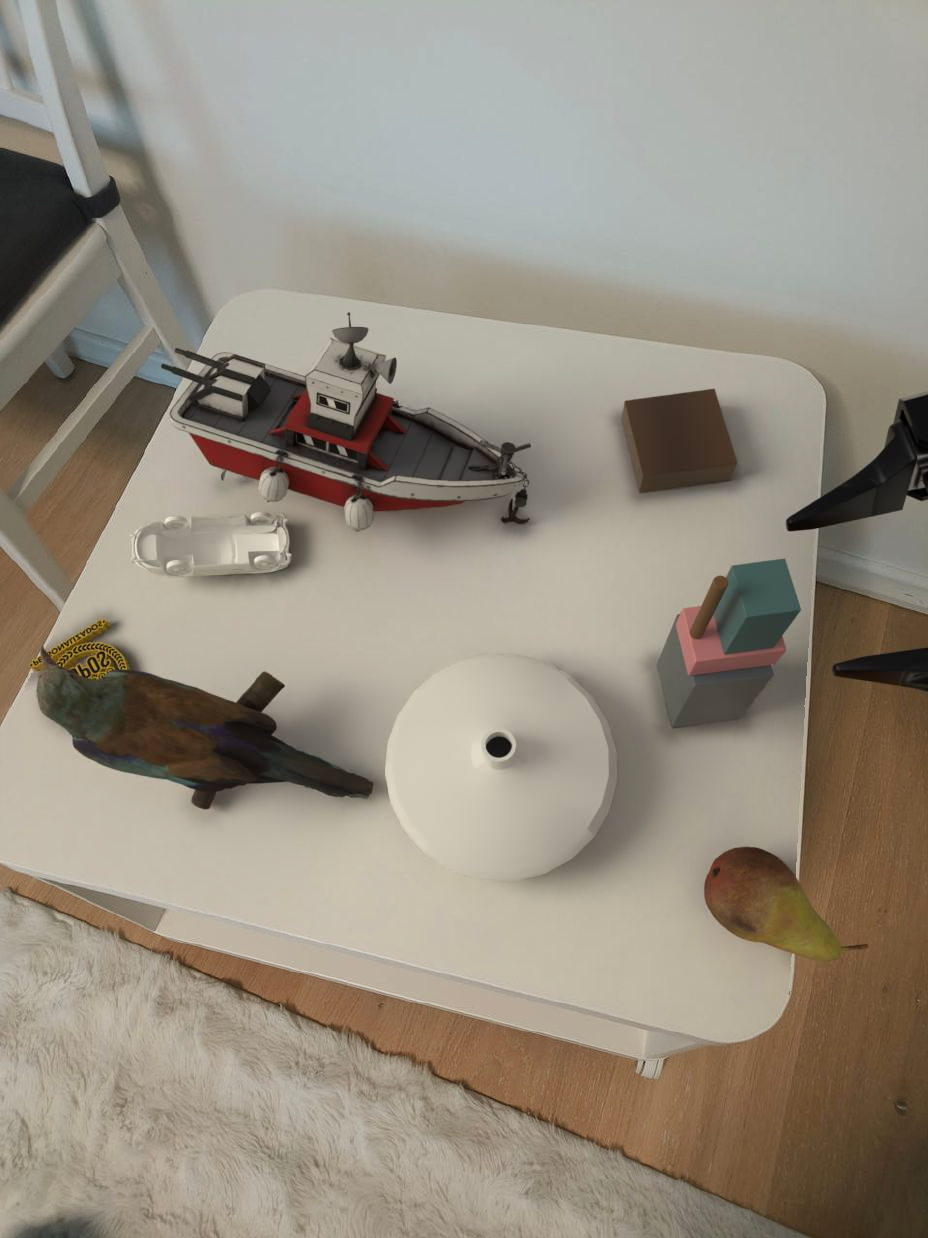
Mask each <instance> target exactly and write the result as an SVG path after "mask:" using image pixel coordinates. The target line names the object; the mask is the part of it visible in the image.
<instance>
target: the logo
mask: <svg viewBox="0 0 928 1238" xmlns="http://www.w3.org/2000/svg"><path fill="white" fill-rule="evenodd" d="M110 627H111V623H110V622H109V621H108V620H107V619H105V618H103V619H99V620H97V621H96V622H93V623H92V624H90V626H87V627H85V628H83V629H82V630H81V631H78V632H77V633H75V634H74V635H72V636H70V637H68V638H67V639H66V640H64V641H62V642H60V643H59V644H56V646H53V647H52V648H51V649H49V650H46V652H47V654H48V655H49V656H50V657H51V659H52V660H53V661H54V662H56V663H57V664H58V665H59V666H62V667H64V668H65V669H67V670H73V671H74V672H75V673H77V674H78V675H80V676H82V677H86V678H89V679H95V680H97V679H102V678H103V677H104V676H105V675H106V674H107V673H108V672H110V671H112V670H117V669H116V668H115V667H116V665H117V668H118V669H123V670H132V669H131V666H130V663H129V662H128V659H127V658H126V657H125V656H124V654H122V652H121V651H119V650H118V649H117V648H116V647H114V646H113V645H110V644H108V643H105V642H101V641H97V642H96V641H95V642H91V640H93V639H95V638H96V637H97V636H100V635H102V634H103V632H107V631H108V630H109V628H110ZM85 657H87V658H86V660H85V664H86V666H85V665H84V664H82V663H81V662H79V663H77V661H78V660H79V659H83V658H85ZM112 659H113V660H114V661H115V662H114V661H112ZM75 663H77V664H76V665H75V666H73V665H74V664H75ZM115 663H116V665H115ZM72 666H73V667H72ZM42 667H43V666H42V660H41V654H40V655H38V656H37V657H36V658H34V659H32V660H31V662H29V664H28V668H30V669H31V670H33V671H35V672H40V671H41V669H42Z"/></svg>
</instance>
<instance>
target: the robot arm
mask: <svg viewBox="0 0 928 1238" xmlns="http://www.w3.org/2000/svg"><path fill="white" fill-rule="evenodd" d="M907 496H908V497H909V498H912V499H915V500H917V501H919V502H925V501H928V390H926V391H922V392H919V393H916V394H912V395H909V396H905V397H901V398H898V402H897V405H896V410H895V414H894V418H893V423H891V424H890V425H889V426H888V428H887V434H886V437H885V442H884V447H883V449H882V450H881V451H880V452H879V453H878V454H877V456H876V457H875V458H874V459H872V461H870V462H869V463H868V464H866V466H864V467H863V468H862V469H860V470H859V471H858V472H857V473H856V474H854V475H853V476H851V477H850V478H848V479H847V480H845V481H844V482H842V483H841V484H839V485H837V486H836V487H835V488H833V489H831V490H829V491H827V493H825V494H823V495H822V496H820V497H818V498H817V499H815V500H814V501H812V502H811V503H809V504H807V505H806V506H804V507H802V508H801V509H799V510H798V511H796V512H795V513H793V514H792V515H790V516H788V517H787V518H786V520H785V528H786V531H787V532H789V533H790V532H800V531H811V530H817V529H822V528H826V527H831V526H835V525H839V524H844V523H848V522H854V521H858V520H863V519H866V518H873V517H877V516H883V515H887V514H891V513H896V512H899V511H903V509H904V507H905V503H906V499H907ZM831 671H832V674H833V676H834V677H838V678H842V679H843V678H844V679H850V680H857V681H864V682H871V683H876V684H883V685H889V686H890V685H891V686H896V687H902V688H903V687H904V688H908V689H909V688H910V689H915V690H919V691H923V692H927V693H928V647H920V648H914V649H907V650H899V651H893V652H885V653H878V654H871V655H870V654H869V655H865V656H860V657H855V658H852V659H848V660H844V661H841V662H836V663H834V664H833V665H832V668H831Z"/></svg>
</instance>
